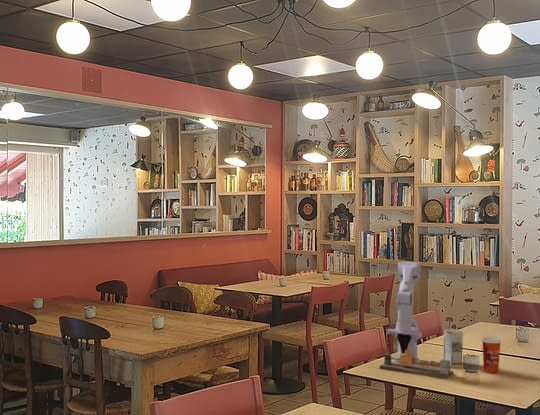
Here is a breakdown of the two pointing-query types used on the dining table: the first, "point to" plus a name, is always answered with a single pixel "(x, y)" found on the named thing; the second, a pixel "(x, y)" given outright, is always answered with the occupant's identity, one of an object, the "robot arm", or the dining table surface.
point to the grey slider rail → (419, 367)
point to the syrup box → (453, 345)
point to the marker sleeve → (407, 358)
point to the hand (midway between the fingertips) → (403, 352)
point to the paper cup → (491, 354)
